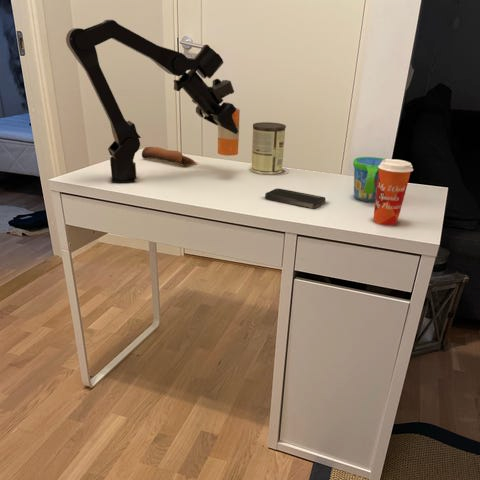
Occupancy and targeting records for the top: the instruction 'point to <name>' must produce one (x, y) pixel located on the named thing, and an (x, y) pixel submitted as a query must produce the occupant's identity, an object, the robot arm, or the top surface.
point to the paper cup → (391, 190)
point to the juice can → (229, 138)
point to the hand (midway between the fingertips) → (232, 130)
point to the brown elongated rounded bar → (167, 155)
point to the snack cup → (366, 177)
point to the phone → (295, 198)
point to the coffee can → (268, 147)
